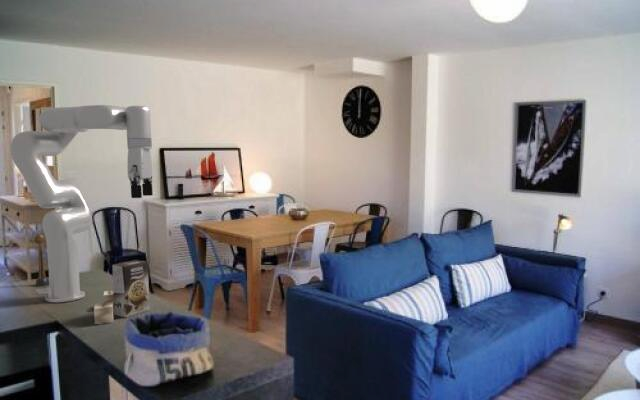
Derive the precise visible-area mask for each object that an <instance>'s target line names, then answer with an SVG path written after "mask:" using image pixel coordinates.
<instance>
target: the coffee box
mask: <svg viewBox="0 0 640 400" xmlns="http://www.w3.org/2000/svg"><path fill="white" fill-rule="evenodd" d="M112 287H113V288H112V289H113V290H112V291H113V296H114V309H113V316H119V317H121V318H130V317H133V316H137V315H139V314H142V313H145V312H149V311H150V288H149V287H150V286H149V263H148V261H147V260H137V259H134V260H130V261H125V262H120V263H114V264H112Z"/></svg>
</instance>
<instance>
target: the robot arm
mask: <svg viewBox="0 0 640 400" xmlns="http://www.w3.org/2000/svg"><path fill="white" fill-rule="evenodd" d="M38 123H39V125H40V127H41V128H42V129H43V130H45V131H40V130H39V131H37V130H28V131H27V130H26V131H22V132H19V133H17V134H16V135H15V136H13V138H12V140H11V142H10V149H9V151H10V156H11V159H12V160H13V163H14V165H15V166H16V168H17V169H18V171H19V172H20V174H21V175H22V177H23V179H24V181H25V184H26V185H27V188H28V190H29V191H30V193H31V195H32V197H33V199H34V201H35V204H37V206H39V208H41V209H52V210H51V211H48V212H47V213H46V214H45V215H44V216H43V219H42V229H43V232H44V233H43V234H44V236H45V242H46V251H47V265H48V280H49V285H48V286H45V287H46V288H36V289H35V295H38V296H43V295H45V297H44V300H45V301H46V302H48V303H66V302H73V301H77V300H79V299H80V300H81V299H82V298H84V297H85V296H86V292H85V291H83V290H81V286H80V283H81V282H80V270H79V269H80V268H79V266H80V265H79V264H80V263H79V250H78V244H77V242H76V239H75V238H74V234H78V233H83V232H86V231H88V230H89V229H90V228H91V226H92V224H93V216H92V212H91V211H90V208H89V206H88V205H87V202H86V200H85V198H84V197H83V194H82V192H81V191H80V189H79V187H78V185H76V184H75V183H74V182H72V181H71V180H68V179H67V180H62V179H61V180H57V179H55V177H54V176H53V175H52V174H53V173H51V170H50V168H49V167H48V166H47V165H46V163H45V162H44V161H43V160H42V159H40V158H39V157H40V156H43V157H44V156H45V157H46V156H58V155H60V154H61V153H62V152H64V150H65V149H66V148H67V147H68V146H69V145H70V143H72V141H73V140H74V139H75V137H76V136H77V135H78V134H79V133H85V132H87V131H88V130H116V131H117V130H118V131H119V130H120V131H126V143H127V144H126V145H127V178H128V179H129V181H130V183H129V185H130V195H131V199H142V197H143V196H144V197H147V196H149V197H150V196H153V194H154V193H153V163H152V162H153V161H152V154H151V149H153V144H152V142H153V141H152V127H151V124H152V122H151V111H150V108H149V107H147V106H145V105H129V106H127V107H125V106H117V105H116V106H115V105H108V104H98V105H97V104H94V105H93V104H92V105H81V106H66V107H65V106H64V107H63V106H62V107H50V108H49V107H48V108H46V109H44V110H43V111H42V112H41V113H40V114H39V116H38ZM38 156H39V157H38ZM141 182H142V183H141ZM141 184H142V185H141ZM55 208H56V209H55Z"/></svg>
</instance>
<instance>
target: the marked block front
mask: <svg viewBox="0 0 640 400" xmlns="http://www.w3.org/2000/svg"><path fill="white" fill-rule="evenodd" d="M93 312H94V313H93V314H94V316H93V317H94V325H95V324H98V325H104V324H103V323H107V324H113V323H114V309H113V302H111V303H104V302H103V303H95V304H94V307H93Z"/></svg>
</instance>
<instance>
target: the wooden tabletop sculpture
mask: <svg viewBox="0 0 640 400" xmlns="http://www.w3.org/2000/svg"><path fill="white" fill-rule="evenodd" d="M33 242H34V243H35V244H37V245H38V247H37V248H38V249H37V250H38V277H37V279H36V281H35V286H36V287H48V286H49V285H50V284H49V277H47V276H46V275H47V274H46V273H45V272H46V271H45V265H44V253H43V246H42V244H44V243H45V242H46V237H45V234H41V233H40V234H36V235H35V236H34V238H30V239H29V243H33Z"/></svg>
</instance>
